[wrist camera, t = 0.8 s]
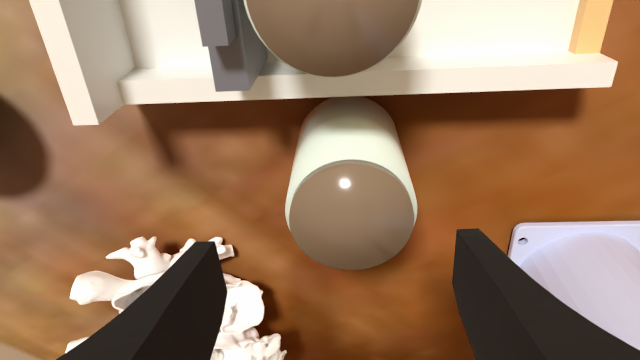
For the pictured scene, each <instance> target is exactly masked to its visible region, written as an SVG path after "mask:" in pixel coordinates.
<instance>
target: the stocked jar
mask: <svg viewBox="0 0 640 360" xmlns="http://www.w3.org/2000/svg"><path fill="white" fill-rule="evenodd" d="M421 3H422V0H244V5H245V8H246V12H247V15H248V18H249V20H250V22H251V24H252V26H253V28H254V30H255V32H256V33H257V35H258V37H259V38H260V40H261V41H262V42H263V43H264V45H265V46H266V47H267V48H268V49H269V50H270V51H271V52H272V53H273V54H274V55H275V56H276V57H277V58H278V59H280V60H281V61H282V62H284V63H285V64H287V65H289V66H290V67H292V68H294V69H296V70H298V71H301V72H303V73H306V74H310V75H313V76H319V77H330V78H337V77H346V76H351V75H355V74H358V73H361V72H364V71H366V70H368V69H370V68H372V67H374V66H376V65H378V64H379V63H381V62H382V61H383V60H385V59H386V58H387V57H389V56H390V55H391V54H392V53H393V52H394V51H395V50H396V49H397V48H398V47H399V46H400V45H401V43H402V42H403V41H404V39H405V38H406V37H407V35H408V34H409V32H410V30H411V28H412V27H413V25H414V23H415V21H416V18H417V16H418V13H419V10H420V7H421Z"/></svg>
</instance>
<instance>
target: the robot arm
mask: <svg viewBox="0 0 640 360" xmlns="http://www.w3.org/2000/svg"><path fill="white" fill-rule="evenodd" d="M521 238H524V239H523V240H521V241H518V240H519V239H521ZM452 284H453V288H454V293H455V297H456V301H457V305H458V309H459V314H460V316H461V319H462V322H463V325H464V327H465V330H466V333H467V336H468V338H469V341H470V344H471V346H472V349H473V352H474V354H475V357H476V360H640V221H597V222H545V223H520V224H518V225H516V226H515V227H514V229H513V232H512V237H511V242H510V247H509V252H508V256H507V255H506V254H505V253H504V252H503V251H501V250H500V249H499V248H498V247H497V246H496V245H495V244H494V243H493V242H492V241H491V240H490V239H489V238H488V237H487V236H486V235H485V234H484V233H483V232H482V231H480V230H479V229H458V230H457V234H456V245H455V257H454V268H453V279H452ZM227 292H228V291H227V287H226V283H225V279H224V275H223V272H222V268H221V264H220V260H219V256H218V252H217V248H216V244H215V241H207V242H195V243H194V244H193V245H192V246H190V247H189V248H188V249H187V250H186V251H185V252H184V253H183V254H182V255H181V257H180V258H179V259H178V260H177V261H176V262H175V263H174V264H173V265H172V266H171V267H170V268H169V269H168V270H167V271H166V272H165V273H164V274H163V275H162V276H161V277H159V278H158V279H157V280H156V281H155V282H154V283H153V284H152V285H151V286H150V287H149V288H148V289H147V290H146V291H145V292H144V293H143V294H141V295H140V296H139V297H138V298H137V299H136V300H135V301H134V302H133V303H131V304H130V305H129V306H128V307H127V308H126V309H125V310H124V311H122V312H121V313H120V314H119V315H118V316H116V317H115V318H114V319H113V320H111V321H110V322H109V323H108V324H106V325H105V326H104V327H102V328H101V329H100V330H98V331H97V332H96V333H94V334H93V335H92V336H90V337H89V338H88V339H86V340H85V341H83V342H82V343H80V344H79V345H77V346H76V347H74V348H73V349H71V350H70V351H68V352H67V353H65V354H64V355H62V356H61V357H59V358H58V359H56V360H210V359H211V355H212V352H213V349H214V346H215V343H216V340H217V337H218V334H219V330H220V327H221V324H222V320H223V315H224V309H225V304H226V298H227Z"/></svg>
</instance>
